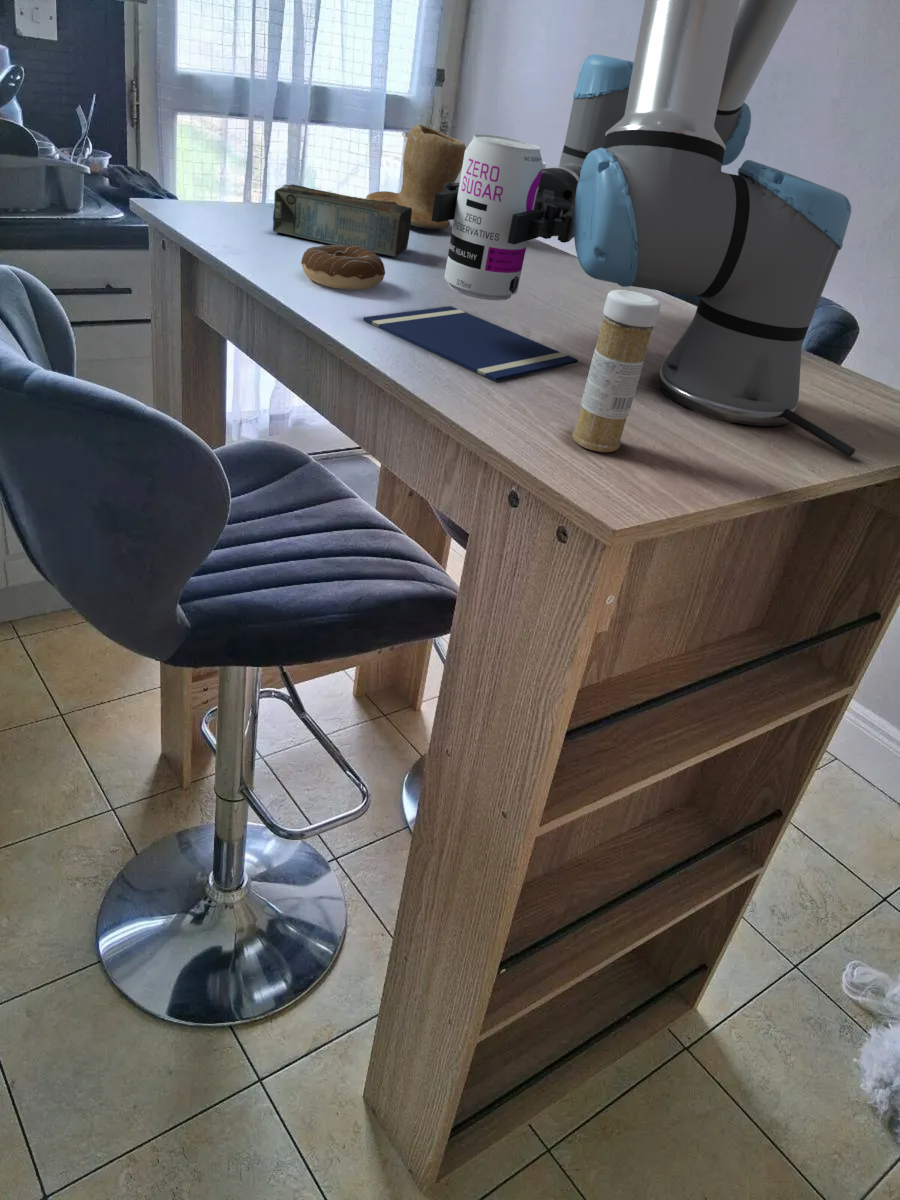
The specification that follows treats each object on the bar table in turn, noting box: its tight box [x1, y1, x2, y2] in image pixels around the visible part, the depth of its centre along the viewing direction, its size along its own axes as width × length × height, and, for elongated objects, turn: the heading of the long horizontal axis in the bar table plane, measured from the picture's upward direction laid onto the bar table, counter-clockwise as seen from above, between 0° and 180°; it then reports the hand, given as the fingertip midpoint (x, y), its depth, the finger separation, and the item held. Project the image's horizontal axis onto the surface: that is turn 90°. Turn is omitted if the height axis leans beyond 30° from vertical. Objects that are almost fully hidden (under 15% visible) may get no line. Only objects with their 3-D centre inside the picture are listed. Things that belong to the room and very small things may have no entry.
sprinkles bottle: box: [571, 289, 661, 453], centre depth 79 cm, size 5×5×13 cm
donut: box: [300, 244, 386, 291], centre depth 113 cm, size 11×11×4 cm
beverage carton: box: [272, 183, 412, 258], centre depth 132 cm, size 8×19×7 cm, turn 81°
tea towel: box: [362, 305, 579, 382], centre depth 102 cm, size 20×15×1 cm
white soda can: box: [444, 133, 544, 301], centre depth 95 cm, size 8×8×15 cm
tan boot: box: [365, 124, 467, 230], centre depth 151 cm, size 15×12×15 cm
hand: (474, 218), depth 91 cm, fingers closed on white soda can, 8 cm apart
